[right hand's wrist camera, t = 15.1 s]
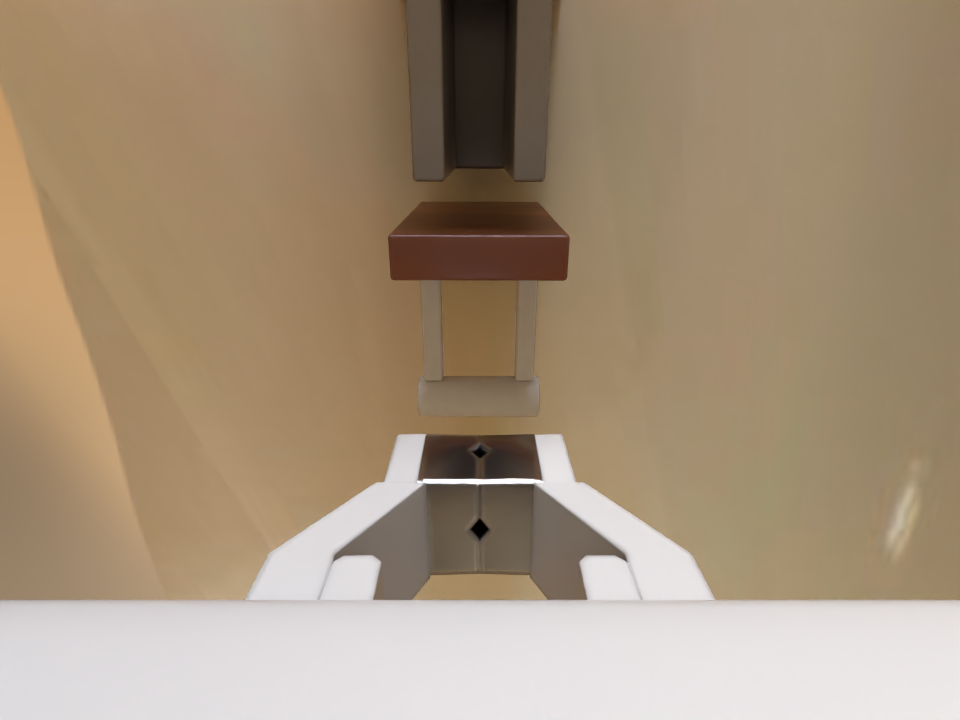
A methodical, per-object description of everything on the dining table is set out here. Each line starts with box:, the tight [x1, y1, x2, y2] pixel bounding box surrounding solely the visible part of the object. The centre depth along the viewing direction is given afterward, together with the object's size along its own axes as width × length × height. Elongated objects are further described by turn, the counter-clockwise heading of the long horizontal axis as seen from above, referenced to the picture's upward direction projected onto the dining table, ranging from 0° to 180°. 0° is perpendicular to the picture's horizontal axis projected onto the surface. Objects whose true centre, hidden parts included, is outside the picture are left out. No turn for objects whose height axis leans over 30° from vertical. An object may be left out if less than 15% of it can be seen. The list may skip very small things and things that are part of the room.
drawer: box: [388, 0, 570, 417], centre depth 16 cm, size 23×5×8 cm, turn 0°
